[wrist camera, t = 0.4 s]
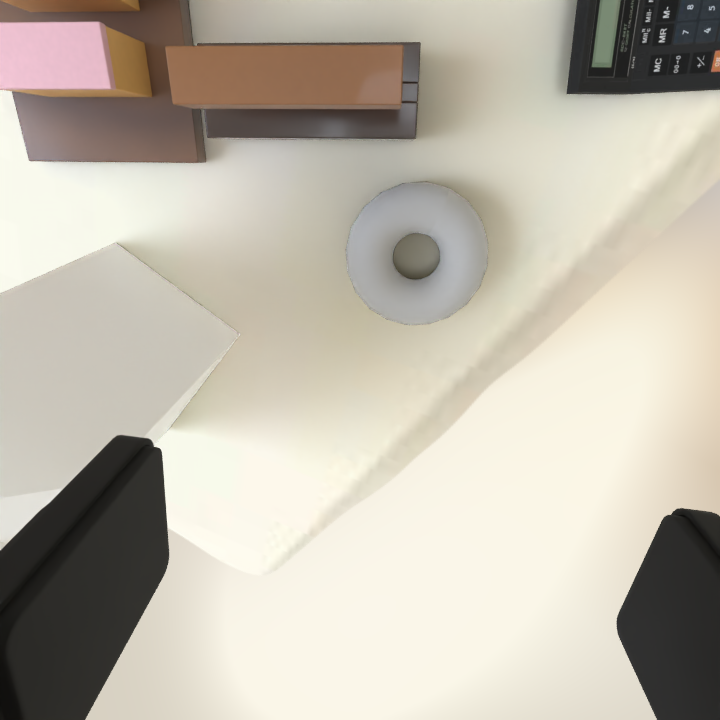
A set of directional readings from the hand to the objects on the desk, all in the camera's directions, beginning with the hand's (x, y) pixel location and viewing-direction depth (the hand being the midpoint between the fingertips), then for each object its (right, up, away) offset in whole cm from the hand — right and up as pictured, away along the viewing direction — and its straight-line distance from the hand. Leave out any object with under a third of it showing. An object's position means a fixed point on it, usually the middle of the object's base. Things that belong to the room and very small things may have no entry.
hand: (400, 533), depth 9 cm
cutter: (-4, +21, +23) cm, 31 cm away
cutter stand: (-4, +21, +23) cm, 31 cm away
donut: (+3, +11, +26) cm, 29 cm away
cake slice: (-18, +22, +22) cm, 35 cm away
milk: (-19, +5, +31) cm, 36 cm away
